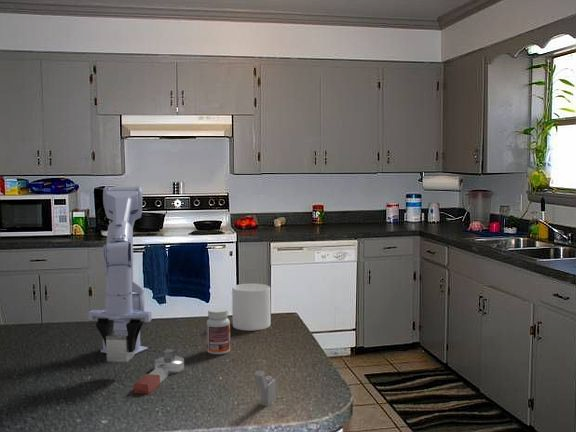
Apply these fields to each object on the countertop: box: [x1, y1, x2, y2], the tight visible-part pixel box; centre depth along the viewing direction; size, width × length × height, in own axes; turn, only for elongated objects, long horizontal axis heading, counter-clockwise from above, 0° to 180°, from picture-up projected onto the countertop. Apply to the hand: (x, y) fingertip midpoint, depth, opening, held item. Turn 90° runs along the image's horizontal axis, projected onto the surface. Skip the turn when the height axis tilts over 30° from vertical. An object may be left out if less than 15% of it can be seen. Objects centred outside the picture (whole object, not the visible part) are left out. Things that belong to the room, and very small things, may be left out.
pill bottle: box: [206, 307, 231, 355], centre depth 157 cm, size 6×6×11 cm
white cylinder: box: [231, 283, 272, 332], centre depth 182 cm, size 12×12×12 cm
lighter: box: [253, 369, 277, 407], centre depth 122 cm, size 7×2×8 cm, turn 157°
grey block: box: [106, 330, 136, 363], centre depth 138 cm, size 5×5×6 cm
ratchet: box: [133, 348, 185, 395], centre depth 138 cm, size 19×7×5 cm, turn 168°
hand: (120, 350), depth 138 cm, fingers closed on grey block, 5 cm apart
